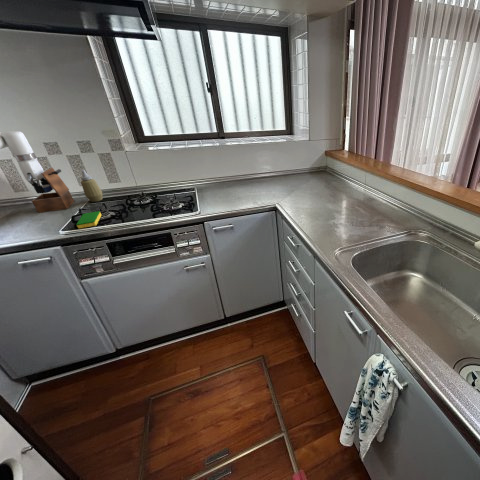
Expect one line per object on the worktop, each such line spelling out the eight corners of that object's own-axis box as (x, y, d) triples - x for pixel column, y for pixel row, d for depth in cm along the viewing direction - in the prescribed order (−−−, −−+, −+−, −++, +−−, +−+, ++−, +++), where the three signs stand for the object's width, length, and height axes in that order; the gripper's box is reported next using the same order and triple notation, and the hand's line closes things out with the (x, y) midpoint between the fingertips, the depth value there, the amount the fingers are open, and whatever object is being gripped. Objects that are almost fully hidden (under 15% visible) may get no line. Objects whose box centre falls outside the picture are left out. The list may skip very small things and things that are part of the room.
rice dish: (34, 194, 141) (31, 189, 140) (40, 190, 147) (37, 185, 145) (50, 192, 144) (47, 187, 142) (56, 188, 149) (53, 183, 148)
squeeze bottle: (103, 196, 163) (90, 167, 154) (106, 200, 158) (92, 170, 149) (87, 200, 159) (73, 170, 150) (89, 203, 153) (74, 173, 144)
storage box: (38, 212, 144) (31, 200, 140) (47, 205, 153) (41, 193, 149) (66, 208, 148) (60, 197, 144) (74, 201, 157) (68, 190, 153)
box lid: (40, 173, 136) (51, 170, 138) (50, 167, 146) (60, 165, 147) (59, 196, 144) (69, 194, 145) (67, 190, 153) (77, 187, 154)
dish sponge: (101, 215, 140) (99, 210, 138) (96, 225, 129) (94, 221, 128) (85, 217, 137) (83, 213, 136) (78, 228, 126) (75, 224, 125)
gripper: (25, 154, 142) (43, 186, 151) (6, 162, 128) (28, 197, 137) (43, 153, 144) (59, 185, 153) (26, 160, 130) (46, 194, 139)
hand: (44, 190), depth 145 cm, fingers closed on rice dish, 7 cm apart
